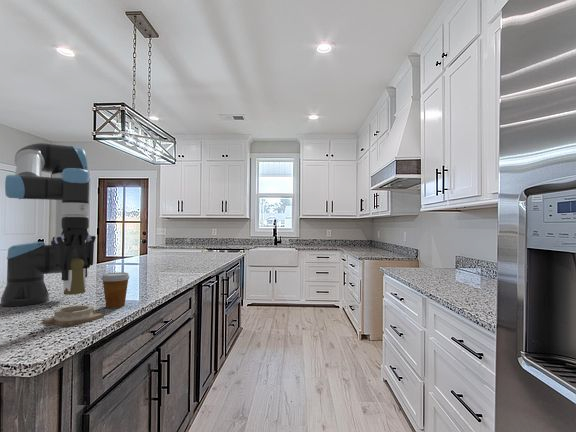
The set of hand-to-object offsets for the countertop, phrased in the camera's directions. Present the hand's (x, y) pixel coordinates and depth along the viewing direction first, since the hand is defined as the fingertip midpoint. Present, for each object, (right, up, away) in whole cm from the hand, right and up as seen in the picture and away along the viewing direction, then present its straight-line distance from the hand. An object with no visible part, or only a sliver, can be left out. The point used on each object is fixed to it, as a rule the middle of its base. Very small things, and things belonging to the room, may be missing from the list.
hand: (74, 289), depth 112 cm
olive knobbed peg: (0, -1, 0) cm, 1 cm away
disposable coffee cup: (+4, -10, +19) cm, 22 cm away
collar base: (0, -10, 0) cm, 10 cm away
